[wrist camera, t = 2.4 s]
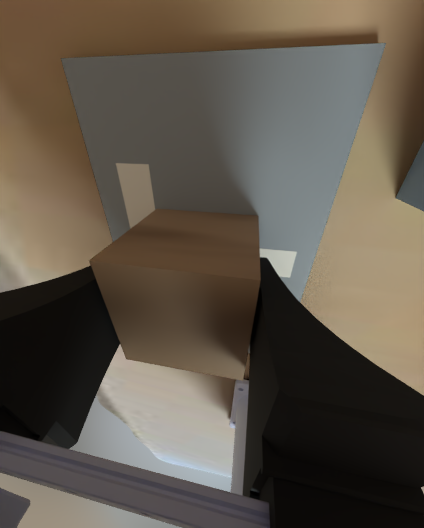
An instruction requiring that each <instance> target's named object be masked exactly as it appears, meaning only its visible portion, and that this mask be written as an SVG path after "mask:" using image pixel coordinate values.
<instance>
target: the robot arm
mask: <svg viewBox="0 0 424 528" xmlns="http://www.w3.org/2000/svg"><path fill="white" fill-rule="evenodd" d="M260 278H261V281H260V286H259V292H258V298H257V304H256V309H255V315H254V321H253V326H252V332H251V338H250V343H249V344H250V369H249V380H244V379H243V381H241V380H236V381H235V389H234V396H233V403H232V410H231V418H230V427H232V428H235V438H234V453H233V467H232V481H231V493H230V492H227V491H223V490H219V489H215V488H212V487H208V486H204V485H200V484H196V483H193V482H189V481H186V480H182V479H178V478H174V477H170V476H166V475H163V474H159V473H155V472H151V471H148V470H144V469H141V468H137V467H133V466H129V465H125V464H122V463H118V462H114V461H110V460H106V459H103V458H99V457H95V456H92V455H88V454H84V453H81V452H77V451H73V450H69V448H71V447H72V446H74V445H75V444H76V443H77V442H78V439H79V436H80V433H81V431H82V428H83V426H84V423H85V421H86V418H87V416H88V413H89V410H90V408H91V405H92V403H93V401H94V398H95V396H96V394H97V391H98V389H99V387H100V384H101V382H102V380H103V378H104V375H105V373H106V371H107V369H108V367H109V365H110V363H111V361H112V358H113V356H114V354H115V352H116V350H117V348H118V347H119V345H120V341H119V339H118V336H117V333H116V331H115V328H114V325H113V323H112V320H111V317H110V315H109V312H108V309H107V307H106V304H105V302H104V299H103V296H102V294H101V291H100V288H99V286H98V283H97V280H96V278H95V275H94V272H93V270H92V267H91V266H89V267H86V268H84V269H81V270H79V271H76V272H73V273H70V274H67V275H64V276H61V277H58V278H55V279H52V280H49V281H45V282H41V283H38V284H34V285H30V286H26V287H23V288H19V289H15V290H11V291H6V292H2V293H0V473H4V474H7V475H10V476H14V477H17V478H21V479H24V480H27V481H30V482H33V483H37V484H40V485H44V486H47V487H50V488H53V489H57V490H60V491H63V492H67V493H70V494H73V495H77V496H80V497H83V498H86V499H90V500H93V501H96V502H100V503H103V504H106V505H109V506H113V507H116V508H120V509H123V510H126V511H129V512H133V513H136V514H139V515H143V516H146V517H150V518H152V519H156V520H159V521H162V522H166V523H169V524H173V525H176V526H179V527H182V528H424V494H423V491H422V489H421V487H423V486H424V396H423V395H422V394H420V393H419V392H417V391H416V390H414V389H412V388H411V387H409V386H408V385H406V384H405V383H403V382H402V381H400V380H399V379H397V378H395V377H394V376H392V375H391V374H389V373H388V372H386V371H385V370H383V369H382V368H380V367H378V366H377V365H375V364H374V363H373V362H371V361H370V360H368V359H367V358H366V357H364V356H363V355H361V354H360V353H359V352H357V351H356V350H355V349H353V348H352V347H350V346H349V345H348V344H347V343H345V342H344V341H343V340H341V339H340V338H339V337H337V336H336V335H335V334H334V333H333V332H331V331H330V330H329V329H328V328H327V327H326V326H324V325H323V324H322V323H321V322H320V321H319V320H317V319H316V318H315V317H314V316H313V315H312V314H311V313H310V312H309V311H308V310H307V309H306V308H305V307H304V306H303V305H302V304H301V303H300V302H299V301H298V300H297V299H296V297H295V296H294V295H293V294H292V293H291V291H290V290H289V289H288V288H287V286H286V285H285V284H284V282H283V281H282V280H281V278H280V277H279V275H278V274H277V272H276V271H275V269H274V268H273V266H272V264H271V263H270V261H269V260H268V258H265V257H260ZM29 506H30V500H29V499H26V498H24V497H21V496H18V495H16V494H13V493H11V492H9V491H6V490H4V489H1V488H0V528H17V526H18V524H19V522H20V520H21V519H22V517H23V515H24V514H25V512H26V511H27V509H28V507H29Z"/></svg>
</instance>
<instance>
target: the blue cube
mask: <svg viewBox="0 0 424 528" xmlns="http://www.w3.org/2000/svg"><path fill="white" fill-rule="evenodd" d="M396 198H397V199H399V200H401V201H403V202H405V203H407V204H409V205H412V206H414V207H416V208H418V209H420V210H422V211H424V141H423V143H422V145H421V147H420V149H419V151H418V153H417V155H416V157H415V159H414V161H413V163H412V166H411V168H410V170H409V172H408V174H407V176H406V178H405V180H404V182H403V184H402V186H401V188H400V190H399V192H398V194H397V196H396Z"/></svg>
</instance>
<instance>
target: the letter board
mask: <svg viewBox="0 0 424 528" xmlns="http://www.w3.org/2000/svg"><path fill="white" fill-rule="evenodd" d="M385 45H386V43H375V44H354V45H333V46H312V47H290V48H269V49H248V50H227V51H206V52H185V53H163V54H142V55H121V56H100V57H79V58H61V61H62V64H63V68H64V71H65V75H66V78H67V82H68V85H69V89H70V92H71V96H72V99H73V103H74V106H75V110H76V113H77V117H78V120H79V124H80V127H81V131H82V134H83V138H84V141H85V145H86V148H87V152H88V155H89V159H90V162H91V166H92V170H93V173H94V177H95V180H96V184H97V187H98V191H99V194H100V198H101V201H102V205H103V208H104V212H105V215H106V219H107V222H108V226H109V229H110V233H111V236H112V240H113V242H114V241H115V240H117V239H118V238H119V237H121V236H122V235H123V234H124V233H126V232H127V231H128V230H130V229H131V228H132V227H134V226H135V225H136V224H137V223H139V222H140V221H141V220H143V219H144V218H145V217H147V216H148V215H149V214H150V213H152V212H153V211H154V210H156V209H170V210H184V211H199V212H213V213H228V214H242V215H257V216H259V247H260V257H265V258H268V260H269V261H270V263H271V264H272V266H273V268H274V269H275V271H276V272H277V274H278V275H279V277H280V278H281V280H282V281H283V282H284V284H285V285H286V286H287V288H288V289H289V290H290V291H291V293H292V294H293V295H294V296H295V297H296V299H297V300H298V301H299V302H300V301H301V298H302V295H303V292H304V289H305V286H306V283H307V280H308V277H309V274H310V271H311V268H312V265H313V262H314V259H315V256H316V253H317V250H318V247H319V244H320V240H321V237H322V234H323V231H324V228H325V225H326V222H327V219H328V216H329V213H330V210H331V207H332V204H333V201H334V198H335V195H336V192H337V189H338V186H339V183H340V180H341V177H342V174H343V171H344V168H345V165H346V162H347V159H348V156H349V153H350V150H351V147H352V144H353V141H354V138H355V135H356V132H357V129H358V126H359V123H360V120H361V117H362V114H363V111H364V108H365V105H366V102H367V99H368V96H369V93H370V90H371V87H372V84H373V81H374V78H375V75H376V72H377V69H378V66H379V63H380V60H381V57H382V54H383V51H384V48H385ZM248 353H250V344H249V349H248Z"/></svg>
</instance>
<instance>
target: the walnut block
mask: <svg viewBox="0 0 424 528" xmlns="http://www.w3.org/2000/svg"><path fill="white" fill-rule="evenodd" d="M89 262H90V264H91V267H92V270H93V272H94V275H95V278H96V280H97V283H98V286H99V288H100V291H101V294H102V296H103V299H104V302H105V304H106V307H107V309H108V312H109V315H110V317H111V320H112V323H113V325H114V328H115V331H116V333H117V336H118V339H119V341H120V344H121V347H122V349H123V352H124V354H125V357H126V359H129V360H134V361H139V362H145V363H150V364H155V365H161V366H166V367H172V368H177V369H182V370H188V371H193V372H198V373H204V374H209V375H215V376H220V377H225V378H231V379H236V380H241V381H243V378H244V372H245V366H246V361H247V355H248V349H249V343H250V338H251V332H252V326H253V321H254V315H255V309H256V304H257V298H258V292H259V286H260V281H261V278H260V247H259V216H257V215H242V214H228V213H213V212H199V211H184V210H170V209H156V210H154V211H153V212H152V213H150V214H149V215H148V216H147V217H145V218H144V219H143V220H141V221H140V222H139V223H137V224H136V225H135V226H134V227H132V228H131V229H130V230H128V231H127V232H126V233H124V234H123V235H122V236H121V237H119V238H118V239H117V240H115V241H114V242H113V243H111V244H110V245H109V246H108V247H106V248H105V249H104V250H102V251H101V252H100V253H98V254H97V255H96V256H95V257H93V258H92V259H91V260H89Z"/></svg>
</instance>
